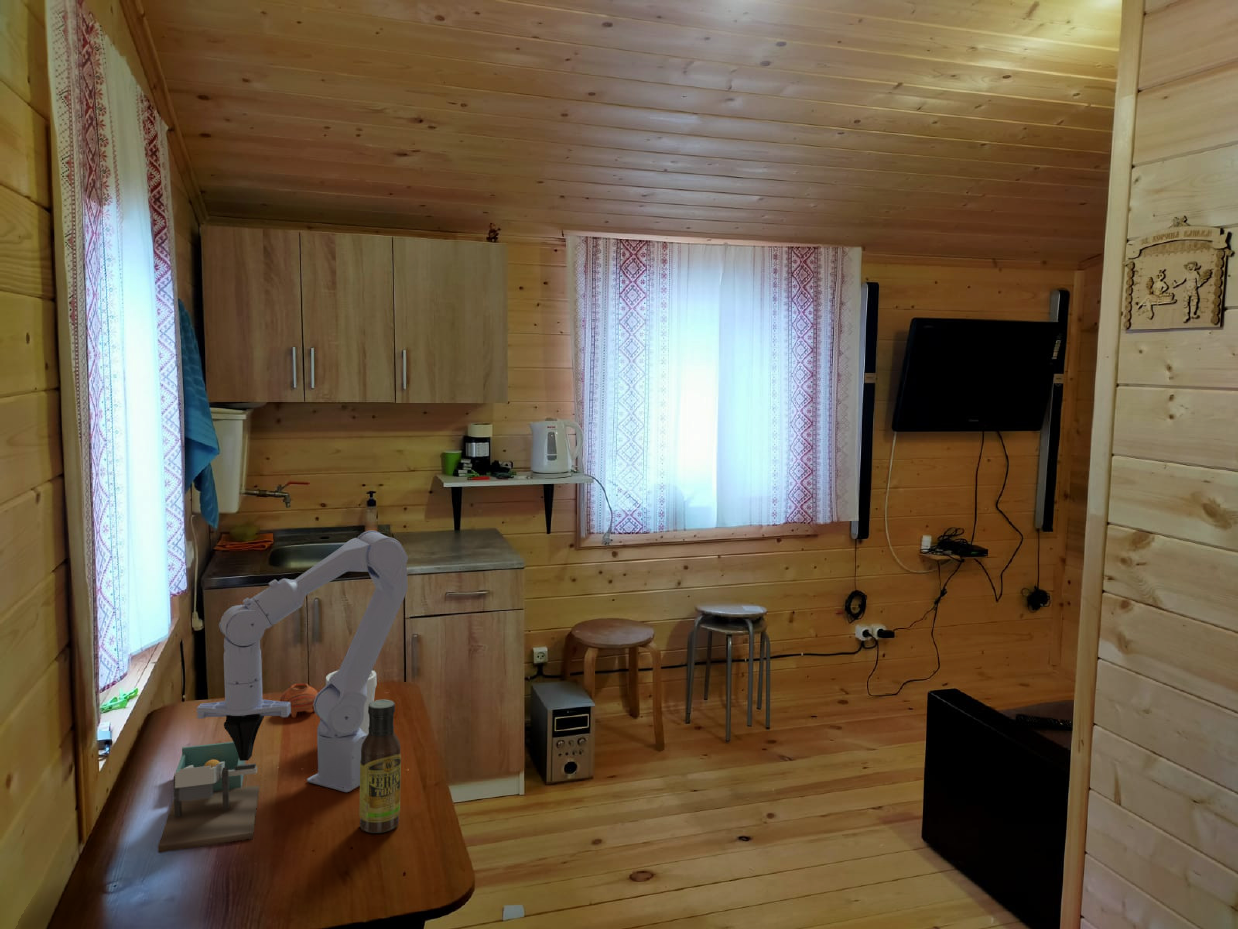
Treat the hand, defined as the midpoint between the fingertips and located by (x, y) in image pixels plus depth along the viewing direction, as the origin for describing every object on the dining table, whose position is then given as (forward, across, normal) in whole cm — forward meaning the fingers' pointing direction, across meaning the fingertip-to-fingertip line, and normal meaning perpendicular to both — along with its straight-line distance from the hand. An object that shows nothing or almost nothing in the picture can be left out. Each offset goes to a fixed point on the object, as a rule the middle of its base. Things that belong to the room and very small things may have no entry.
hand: (245, 758), depth 148 cm
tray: (+3, +2, +6) cm, 7 cm away
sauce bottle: (+8, -24, +10) cm, 27 cm away
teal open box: (+7, +8, -7) cm, 13 cm away
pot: (+8, +3, -40) cm, 41 cm away
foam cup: (+8, -12, -25) cm, 28 cm away
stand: (+7, +3, +7) cm, 10 cm away
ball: (+5, +9, -9) cm, 14 cm away
